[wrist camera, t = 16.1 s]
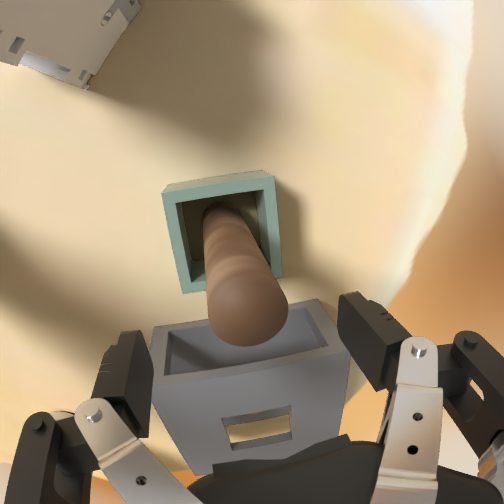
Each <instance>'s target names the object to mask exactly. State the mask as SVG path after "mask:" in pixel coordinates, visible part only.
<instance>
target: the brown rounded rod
mask: <svg viewBox="0 0 504 504" xmlns="http://www.w3.org/2000/svg"><path fill="white" fill-rule="evenodd" d="M203 242H204V260H205V276H206V291H207V305H208V317H209V323H210V327H211V329H212V331H213V332H214V333H215V335H216V336H217V337H218V338H220V339H221V340H222V341H224V342H226V343H228V344H231V345H234V346H239V347H250V346H256V345H259V344H262V343H264V342H267V341H268V340H270V339H272V338H273V337H274V336H276V335H277V334H278V333H279V332H280V330H281V329H282V328H283V326H284V325H285V323H286V320H287V317H288V302H287V299H286V297H285V295H284V293H283V291H282V289H281V288H280V286H279V284H278V282H277V280H276V278H275V276H274V274H273V273H272V271H271V269H270V267H269V265H268V263H267V261H266V260H265V258H264V256H263V254H262V252H261V250H260V248H259V247H258V245H257V243H256V241H255V239H254V237H253V235H252V234H251V232H250V230H249V228H248V226H247V224H246V222H245V221H244V219H243V217H242V215H241V213H240V211H239V210H238V208H237V207H236V206H235V205H233V204H232V203H229V202H225V201H220V202H216V203H213V204H212V205H210V206H209V207H208V208H207V209H206V211H205V212H204V215H203Z"/></svg>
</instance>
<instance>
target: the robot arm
mask: <svg viewBox="0 0 504 504" xmlns="http://www.w3.org/2000/svg"><path fill="white" fill-rule="evenodd" d="M337 330H338V335H339V337H340V340H341V341H342V343H343V344H344V345H345V347H346V348H347V350H348V351H349V353H350V354H351V356H352V357H353V359H354V360H355V362H356V363H357V364H358V366H359V367H360V369H361V370H362V372H363V373H364V375H365V376H366V378H367V379H368V381H369V382H370V383H371V385H372V387H373V388H374V390H375V391H376V392H377V391H380V390H383V389H385V388H386V389H387V390H388V391H389V393H388V396H387V401H386V405H385V410H384V414H383V419H382V423H381V427H380V432H379V435H378V438H377V441H376V442H370V441H350V439H349V437H348V435H347V434H344V435H341V436H338V437H335V438H331V439H328V440H325V441H322V442H318V443H315V444H313V445H311V446H310V447H308V448H306V449H304V450H302V451H300V452H298V453H296V454H294V455H292V456H290V457H288V458H285V459H273V460H263V459H244V460H238V461H232V462H225V463H217V464H212V467H213V473H211V474H208V475H206V476H204V477H202V478H200V479H198V480H197V481H195V482H193V483H192V484H191V485H189V486H188V487H187V488H186V487H184V486H183V485H182V484H181V483H180V482H179V481H178V480H177V479H176V478H175V477H174V476H173V475H172V474H171V473H170V472H169V471H168V470H167V469H166V468H165V467H164V466H163V465H162V464H161V463H160V461H159V460H158V459H157V458H156V457H155V456H154V455H153V454H152V453H151V452H150V451H149V449H148V448H147V447H146V446H145V445H144V444H143V443H142V442H141V440H140V439H139V438H148V437H149V422H150V409H151V398H152V387H153V377H154V368H153V362H152V359H151V356H150V354H149V351H148V348H147V346H146V343H145V340H144V338H143V335H142V333H141V331H140V330H134V331H125V332H121V334H120V337H119V341H118V344H117V345H112V346H111V347H110V348H109V349H108V350H107V351H106V353H105V354H104V356H103V360H102V363H101V364H102V365H101V366H100V369H99V373H98V375H97V379H96V382H95V386H94V389H93V392H92V396H91V399H89V400H87V401H85V402H83V403H82V404H81V405H80V406H79V407H78V408H77V409H76V412H75V416H72V417H68V418H65V419H61V420H57V421H56V420H55V419H54V418H53V417H52V415H51V414H49V413H47V412H37V413H35V414H33V415H31V416H30V417H29V418H28V419H27V420H26V422H25V424H24V426H23V429H22V432H21V436H20V439H19V442H18V446H17V449H16V453H15V457H14V460H13V464H12V468H11V473H10V477H9V481H8V486H7V491H6V496H5V502H4V504H90V488H91V474H92V471H95V470H99V469H101V470H102V471H103V473H104V474H105V476H106V477H107V479H108V480H109V482H110V483H111V484H112V486H113V487H114V489H115V490H116V491H117V492H118V494H119V495H120V496H121V498H122V499H123V501H124V502H125V503H126V504H504V358H503V356H501V355H500V353H499V352H497V351H496V350H495V349H494V348H493V347H492V346H491V345H490V344H489V343H488V342H487V341H486V340H485V339H484V338H483V337H482V336H481V335H479V334H478V333H476V332H472V331H461V332H459V333H457V334H456V336H455V338H454V341H453V344H447V345H438V346H436V345H435V343H434V342H432V341H431V340H429V339H427V338H424V337H420V336H415V337H413V336H412V335H411V334H410V333H409V332H407V330H406V329H405V328H404V327H403V326H402V325H401V324H400V323H399V322H398V321H397V320H396V319H394V318H393V316H392V315H391V314H389V313H388V311H387V310H386V309H385V308H384V307H383V306H382V305H380V304H378V303H376V302H374V301H372V300H369V301H367V300H366V299H365V298H364V297H363V296H362V295H361V294H360V293H359V292H358V291H356V292H352V293H347V294H343V295H340V297H339V303H338V321H337ZM472 379H473V381H474V382H475V383H476V384H477V385H478V386H479V388H480V389H481V390H482V391H483V395H484V401H483V400H482V399H481V397H480V396H479V395H478V394H477V392H476V391H475V390H474V389H473V388H472V386H471V385H470V382H471V380H472ZM443 407H444V408H445V409H446V411H447V412H448V414H449V415H450V417H451V418H452V419H453V421H454V422H455V424H456V425H457V426H458V428H459V429H460V431H461V432H462V434H463V435H464V437H465V438H466V440H467V441H468V443H469V444H470V446H471V447H472V449H473V450H474V452H475V453H476V455H477V456H478V458H479V463H478V469H479V472H478V475H477V477H476V476H472V475H468V474H465V473H462V472H458V471H455V470H452V469H448V468H445V467H443V466H440V465H438V458H439V449H440V440H441V426H442V409H443Z"/></svg>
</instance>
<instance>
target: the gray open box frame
mask: <svg viewBox="0 0 504 504" xmlns="http://www.w3.org/2000/svg"><path fill="white" fill-rule="evenodd" d="M320 345H321V347H322V348H320ZM149 354H150V356H151V359H152V362H153V368H154V377H153V387H152V398H151V401H152V403H153V405H154V407H155V409H156V411H157V413H158V415H159V417H160V418H161V420H162V422H163V424H164V426H165V427H166V429H167V431H168V433H169V434H170V436H171V438H172V440H173V441H174V443H175V445H176V446H177V448H178V450H179V451H180V453H181V454H182V456H183V458H184V459H185V461H186V462H187V464H188V466H189V467H190V469H191V470H192V472H193V473H194V475H195V476H199V475H208V474H211V473H213V467H212V464H217V463H225V462H232V461H238V460H244V459H263V460H273V459H285V458H288V457H290V456H292V455H294V454H296V453H298V452H300V451H302V450H304V449H306V448H308V447H310V446H311V445H313V444H315V443H318V442H322V441H325V440H328V439H331V438H335V437H338V434H339V429H340V424H341V418H342V413H343V407H344V401H345V394H346V388H347V381H348V373H349V366H350V357H351V354H350V353H349V351H348V350H347V348H346V347H345V345H344V344H343V343H342V341H341V340H340V337H339V335H338V330H337V326H336V325H335V324H334V322H333V321H332V319H331V318H330V316H329V315H328V313H327V312H326V310H325V309H324V307H323V306H322V305H321V303H320V302H319V300H318V299H314V300H309V301H304V302H299V303H294V304H289V305H288V317H287V320H286V323H285V325H284V326H283V328H282V329H281V330H280V332H279V333H278V334H277V335H276V336H274V337H273V338H272V339H270V340H268V341H267V342H264V343H262V344H259V345H256V346H250V347H239V346H234V345H231V344H228V343H226V342H224V341H222V340H221V339H220V338H218V337H217V336H216V335H215V333H214V332H213V331H212V329H211V327H210V323H209V319H206V320H199V321H193V322H186V323H179V324H172V325H165V326H158V327H154V331H153V336H152V342H151V347H150V353H149ZM260 411H262V412H260ZM255 412H260V413H256V414H250V413H255ZM286 414H289V419H290V432H288V433H283V434H279V435H274V436H269V437H264V438H259V439H254V440H248V441H242V442H236V443H231V442H230V439H229V436H228V433H227V430H226V427H225V426H229V425H235V424H241V423H247V422H253V421H258V420H263V419H268V418H273V417H278V416H282V415H286Z"/></svg>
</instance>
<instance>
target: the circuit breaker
mask: <svg viewBox="0 0 504 504" xmlns="http://www.w3.org/2000/svg"><path fill="white" fill-rule="evenodd" d="M140 9H141V7H140V5H139V3H138V1H137V0H0V61H1V62H4V63H8V64H11V65H15V66H18V64H21V65H24V66H27V67H29V68H32V69H34V70H37V71H39V72H42V73H44V74H47V75H49V76H52V77H54V78H57V79H59V80H61V81H64V82H66V83H69V84H72V85H75V86H77V87H81V88H83V89H85V90H88V88H89V86H90V85H88V84H87V82H88V80H89V78H90V77H91V75H94V76H96V74H97V72H98V71H99V69H100V67H101V66H102V64H103V62H104V61H105V59H106V58H107V56H108V54H109V53H110V51H111V50H112V48H113V47H114V45H115V44H116V42H117V41H118V39H119V38H120V36H121V35H122V34H123V32H124V31H125V29H126V28H127V27H128V25H129V24H130V23H131V21H132V20H133V19H134V17H135V16H136V15H137V13H138V12H139V11H140Z"/></svg>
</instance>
